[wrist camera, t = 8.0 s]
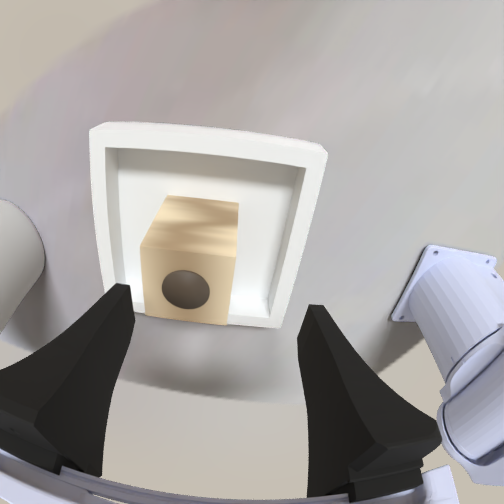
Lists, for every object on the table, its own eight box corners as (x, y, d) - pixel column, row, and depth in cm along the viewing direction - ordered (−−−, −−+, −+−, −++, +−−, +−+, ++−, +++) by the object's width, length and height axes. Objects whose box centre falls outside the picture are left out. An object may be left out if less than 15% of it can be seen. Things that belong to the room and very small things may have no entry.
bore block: (238, 202, 19) (236, 259, 14) (230, 262, 22) (226, 327, 16) (167, 194, 19) (138, 248, 14) (166, 254, 21) (144, 317, 16)
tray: (318, 142, 18) (328, 153, 15) (277, 305, 25) (280, 328, 22) (107, 121, 16) (89, 129, 14) (117, 286, 23) (107, 307, 21)
